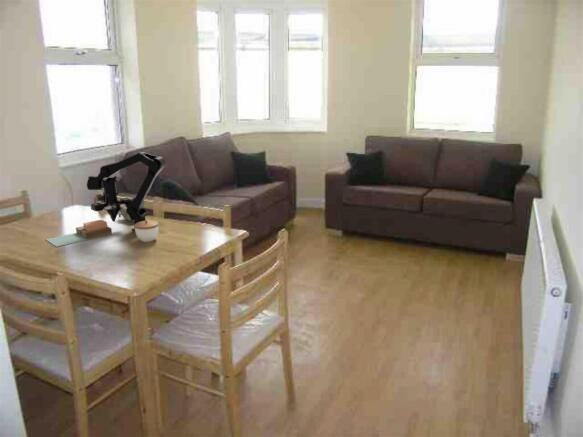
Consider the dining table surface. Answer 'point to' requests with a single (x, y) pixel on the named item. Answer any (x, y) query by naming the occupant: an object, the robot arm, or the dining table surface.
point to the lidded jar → (146, 230)
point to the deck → (93, 232)
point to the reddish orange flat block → (95, 225)
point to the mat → (66, 239)
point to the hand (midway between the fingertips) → (113, 221)
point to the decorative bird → (124, 213)
